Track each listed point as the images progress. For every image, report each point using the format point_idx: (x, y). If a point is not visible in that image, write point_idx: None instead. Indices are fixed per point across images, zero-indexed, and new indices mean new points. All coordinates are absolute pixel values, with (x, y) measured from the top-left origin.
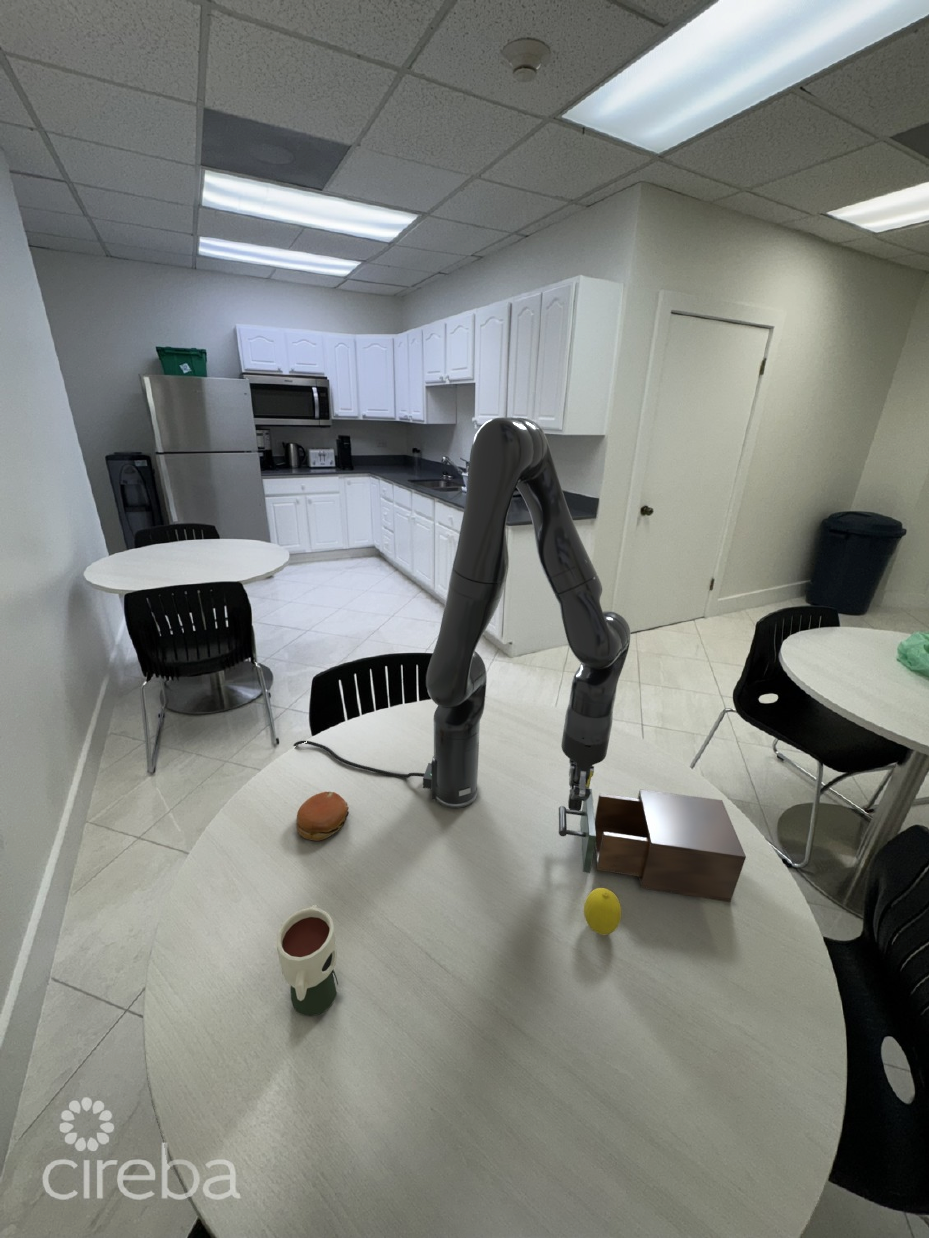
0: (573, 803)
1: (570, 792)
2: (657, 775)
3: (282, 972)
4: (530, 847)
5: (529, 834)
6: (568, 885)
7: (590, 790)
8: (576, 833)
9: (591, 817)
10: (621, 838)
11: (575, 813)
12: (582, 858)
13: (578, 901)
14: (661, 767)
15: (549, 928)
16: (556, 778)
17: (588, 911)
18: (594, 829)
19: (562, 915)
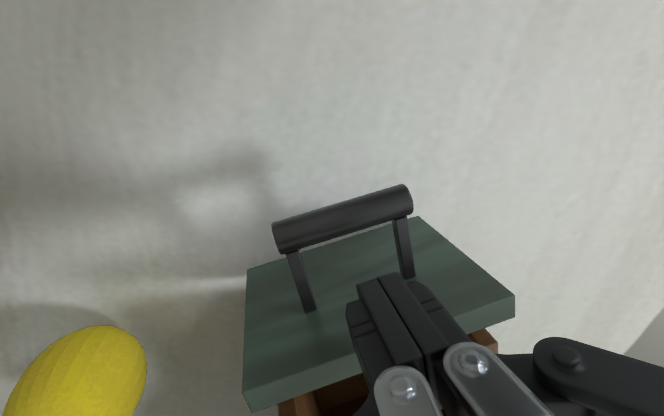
0: (356, 346)
1: (385, 392)
2: (612, 323)
3: None
4: (270, 94)
5: (322, 74)
6: (194, 239)
7: (504, 316)
8: (296, 285)
9: (349, 367)
10: None
11: (398, 250)
12: (286, 260)
13: (159, 275)
14: (636, 324)
15: (16, 235)
16: (581, 94)
17: (17, 384)
18: (285, 397)
19: (86, 253)
